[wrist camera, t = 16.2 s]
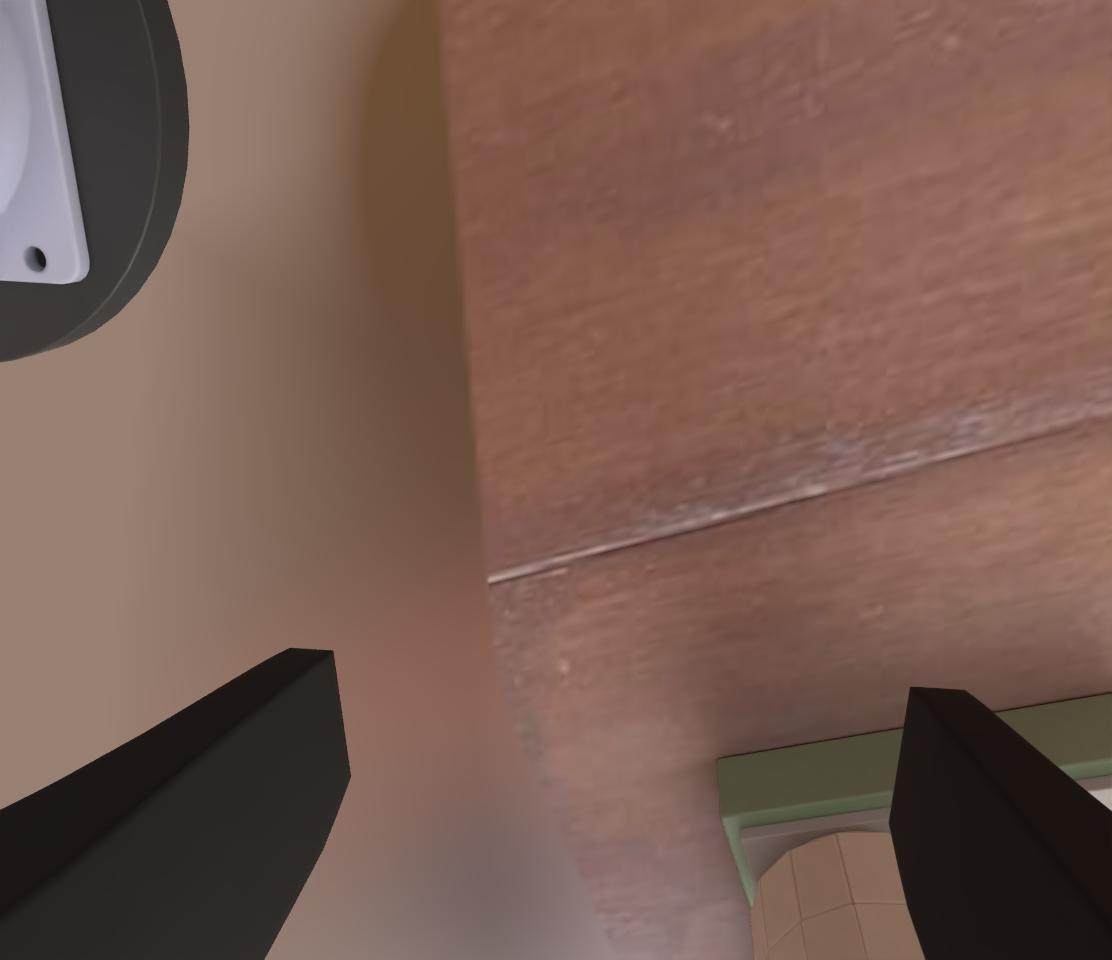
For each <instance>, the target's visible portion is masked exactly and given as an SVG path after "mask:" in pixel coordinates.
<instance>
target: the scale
mask: <svg viewBox="0 0 1112 960" xmlns="http://www.w3.org/2000/svg"><path fill="white" fill-rule="evenodd" d="M995 714H996V715H997V716H998V717H999V718H1001V719H1002V720H1003V721H1004V722H1005V723H1007V724H1008V725H1009V726H1010V727H1011V728H1013V729H1014V730H1015V731H1016V732H1017V733H1018V734H1020V735H1021V736H1022V737H1023V738H1024V739H1026V740H1027V741H1028V742H1029V743H1030V744H1031V745H1033V746H1034V747H1035V748H1036V749H1037V750H1039V751H1040V752H1041V753H1042V754H1043V755H1045V756H1046V757H1047V758H1048V759H1049V760H1050V761H1052V762H1053V763H1054V764H1055V765H1056V766H1058V767H1059V768H1060V769H1061V770H1062V771H1064V772H1065V773H1066V774H1067V775H1068V776H1070V777H1071V778H1072V779H1073V780H1074V781H1076V782H1077V783H1078V784H1079V785H1080V786H1082V787H1083V788H1084V789H1085V790H1087V791H1088V792H1089V793H1090V794H1092V795H1093V796H1094V797H1095V798H1096V799H1098V800H1099V801H1100V802H1101V803H1103V804H1104V805H1105V806H1106V807H1108V808H1109V809H1110V810H1111V811H1112V693H1111V694H1105V695H1099V696H1093V697H1087V698H1081V699H1075V700H1069V701H1063V702H1057V703H1051V704H1045V705H1039V706H1033V707H1027V708H1021V709H1015V710H1009V711H1003V712H997V713H995ZM903 729H904V728H901V729H895V730H889V731H883V732H877V733H871V734H865V735H859V736H853V737H848V738H842V739H836V740H830V741H824V742H818V743H812V744H806V745H800V746H794V747H788V748H782V749H776V750H770V751H764V752H758V753H752V754H746V755H740V756H734V757H728V758H722V759H718V760H717V777H718V791H719V806H720V818H721V822H722V825H723V828H724V831H725V834H726V837H727V840H728V843H729V846H730V849H731V852H732V855H733V858H734V862H735V865H736V868H737V871H738V874H739V877H740V880H741V883H742V886H743V889H744V892H745V895H746V899H747V902H748V905H749V908H750V911H751V908H752V904H753V900H754V896H755V892H756V888H757V883H758V880H759V879H760V878H761V876H762V875H763V874H764V873H765V872H767V871H768V870H769V869H770V868H771V867H772V866H773V865H774V864H775V863H776V862H777V861H778V860H779V859H780V858H781V857H782V856H783V855H784V854H785V853H786V852H787V851H788V850H790V851H791V850H792V849H793V848H796V847H798V846H801V845H803V844H805V843H807V842H809V841H811V840H813V839H815V838H818V837H821V836H824V835H828V834H832V833H837V832H844V831H873V832H888V833H889V834H890V833H891V832H890V827H889V817H890V810H891V804H892V798H893V792H894V785H895V779H896V773H897V767H898V760H899V754H900V748H901V741H902V735H903Z"/></svg>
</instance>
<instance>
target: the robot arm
mask: <svg viewBox="0 0 1112 960" xmlns="http://www.w3.org/2000/svg"><path fill="white" fill-rule="evenodd" d="M38 249H40V250H41V251H42V252H43V253H44V255H45V258H46V267H45V268H44V267H43V266H42V265H41V264H40V262H39V260H38V257H37V250H38ZM89 263H90V260H89V254H88V248H87V242H86V236H85V230H84V224H83V218H82V212H81V206H80V200H79V194H78V189H77V183H76V177H75V171H74V165H73V159H72V153H71V147H70V141H69V135H68V129H67V123H66V117H65V111H64V106H63V100H62V94H61V88H60V82H59V76H58V70H57V64H56V58H55V52H54V46H53V40H52V34H51V28H50V22H49V17H48V11H47V5H46V0H0V280H2V281H18V282H35V283H51V284H66V283H72V282H78V281H81V280H82V279H84V278H85V277H86V276H87V273H88V271H89ZM350 778H351V773H350V766H349V760H348V752H347V745H346V738H345V732H344V724H343V716H342V710H341V702H340V695H339V688H338V681H337V674H336V667H335V660H334V652H333V651H331V650H330V651H329V650H316V649H315V650H314V649H299V648H289V649H287V650H285V651H283V652H281V653H279V654H277V655H275V656H273V657H271V658H269V659H267V660H265V661H264V662H262V663H260V664H258V665H257V666H255V667H253V668H252V669H250V670H248V671H247V672H245V673H243V674H241V675H240V676H238V677H236V678H235V679H233V680H231V681H230V682H228V683H226V684H225V685H223V686H221V687H220V688H218V689H216V690H215V691H213V692H212V693H210V694H208V695H207V696H205V697H203V698H202V699H200V700H198V701H197V702H195V703H193V704H192V705H190V706H188V707H187V708H185V709H183V710H182V711H180V712H178V713H177V714H175V715H173V716H171V717H170V718H168V719H166V720H165V721H163V722H161V723H160V724H158V725H156V726H155V727H153V728H151V729H150V730H148V731H146V732H145V733H143V734H141V735H140V736H138V737H136V738H134V739H132V740H130V741H129V742H127V743H125V744H123V745H121V746H120V747H118V748H116V749H114V750H113V751H111V752H109V753H107V754H105V755H103V756H102V757H100V758H98V759H96V760H94V761H93V762H91V763H89V764H87V765H85V766H84V767H82V768H80V769H78V770H76V771H75V772H73V773H71V774H69V775H67V776H66V777H64V778H62V779H60V780H58V781H56V782H54V783H53V784H51V785H49V786H47V787H45V788H43V789H41V790H39V791H37V792H35V793H33V794H31V795H29V796H27V797H25V798H23V799H21V800H19V801H17V802H15V803H13V804H11V805H9V806H7V807H5V808H3V809H1V810H0V960H264V959H265V957H266V955H267V954H268V952H269V950H270V948H271V946H272V944H273V943H274V941H275V939H276V937H277V935H278V933H279V932H280V930H281V928H282V926H283V924H284V922H285V920H286V919H287V917H288V915H289V913H290V911H291V909H292V908H293V906H294V904H295V902H296V900H297V898H298V896H299V894H300V892H301V891H302V889H303V887H304V884H305V883H306V881H307V879H308V877H309V876H310V874H311V872H312V870H313V868H314V866H315V864H316V862H317V860H318V858H319V856H320V854H321V853H322V851H323V848H324V846H325V843H326V841H327V838H328V836H329V833H330V831H331V828H332V826H333V824H334V821H335V819H336V816H337V813H338V811H339V808H340V805H341V802H342V800H343V797H344V794H345V792H346V789H347V786H348V783H349V781H350ZM889 827H890V832H891V837H892V841H893V846H894V851H895V856H896V860H897V865H898V870H899V874H900V878H901V883H902V887H903V891H904V895H905V900H906V904H907V908H908V911H909V914H910V917H911V920H912V923H913V926H914V929H915V932H916V935H917V937H918V940H919V943H920V946H921V949H922V952H923V955H924V957H925V960H1112V811H1111V810H1110V809H1109V808H1108V807H1106V806H1105V805H1104V804H1103V803H1101V802H1100V801H1099V800H1098V799H1096V798H1095V797H1094V796H1093V795H1092V794H1090V793H1089V792H1088V791H1087V790H1085V789H1084V788H1083V787H1082V786H1080V785H1079V784H1078V783H1077V782H1076V781H1074V780H1073V779H1072V778H1071V777H1070V776H1068V775H1067V774H1066V773H1065V772H1064V771H1062V770H1061V769H1060V768H1059V767H1058V766H1056V765H1055V764H1054V763H1053V762H1052V761H1050V760H1049V759H1048V758H1047V757H1046V756H1045V755H1043V754H1042V753H1041V752H1040V751H1039V750H1037V749H1036V748H1035V747H1034V746H1033V745H1031V744H1030V743H1029V742H1028V741H1027V740H1026V739H1024V738H1023V737H1022V736H1021V735H1020V734H1018V733H1017V732H1016V731H1015V730H1014V729H1013V728H1011V727H1010V726H1009V725H1008V724H1007V723H1005V722H1004V721H1003V720H1002V719H1001V718H999V717H998V716H997V715H996V714H995V713H993V712H992V711H991V710H990V709H989V708H987V707H986V706H985V705H984V704H982V703H981V702H980V701H979V700H977V699H976V698H975V697H974V696H972V695H971V694H970V693H968V692H967V691H966V690H958V689H942V688H926V687H910V691H909V697H908V704H907V710H906V716H905V723H904V729H903V735H902V741H901V748H900V754H899V760H898V767H897V773H896V779H895V785H894V792H893V798H892V804H891V810H890V817H889Z"/></svg>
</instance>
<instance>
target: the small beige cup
mask: <svg viewBox="0 0 1112 960" xmlns="http://www.w3.org/2000/svg"><path fill="white" fill-rule="evenodd" d="M750 917H751V928H752V938H753V948H754V958H755V960H925V957H924V955H923V952H922V949H921V946H920V943H919V940H918V937H917V935H916V932H915V929H914V926H913V923H912V920H911V917H910V914H909V911H908V908H907V904H906V900H905V895H904V891H903V887H902V883H901V878H900V874H899V870H898V865H897V860H896V856H895V851H894V846H893V841H892V837H891V833H890V834H889V833H888V832H873V831H844V832H837V833H832V834H828V835H824V836H821V837H818V838H815V839H813V840H811V841H809V842H807V843H805V844H803V845H801V846H798V847H796V848H793V849H792V850H791V851H790V850H788V851H787V852H786V853H785V854H784V855H783V856H782V857H781V858H780V859H779V860H778V861H777V862H776V863H775V864H774V865H773V866H772V867H771V868H770V869H769V870H768V871H767V872H765V873H764V874H763V875H762V876H761V878H760V879H759V880H758V883H757V888H756V892H755V896H754V900H753V904H752V908H751V912H750Z"/></svg>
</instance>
